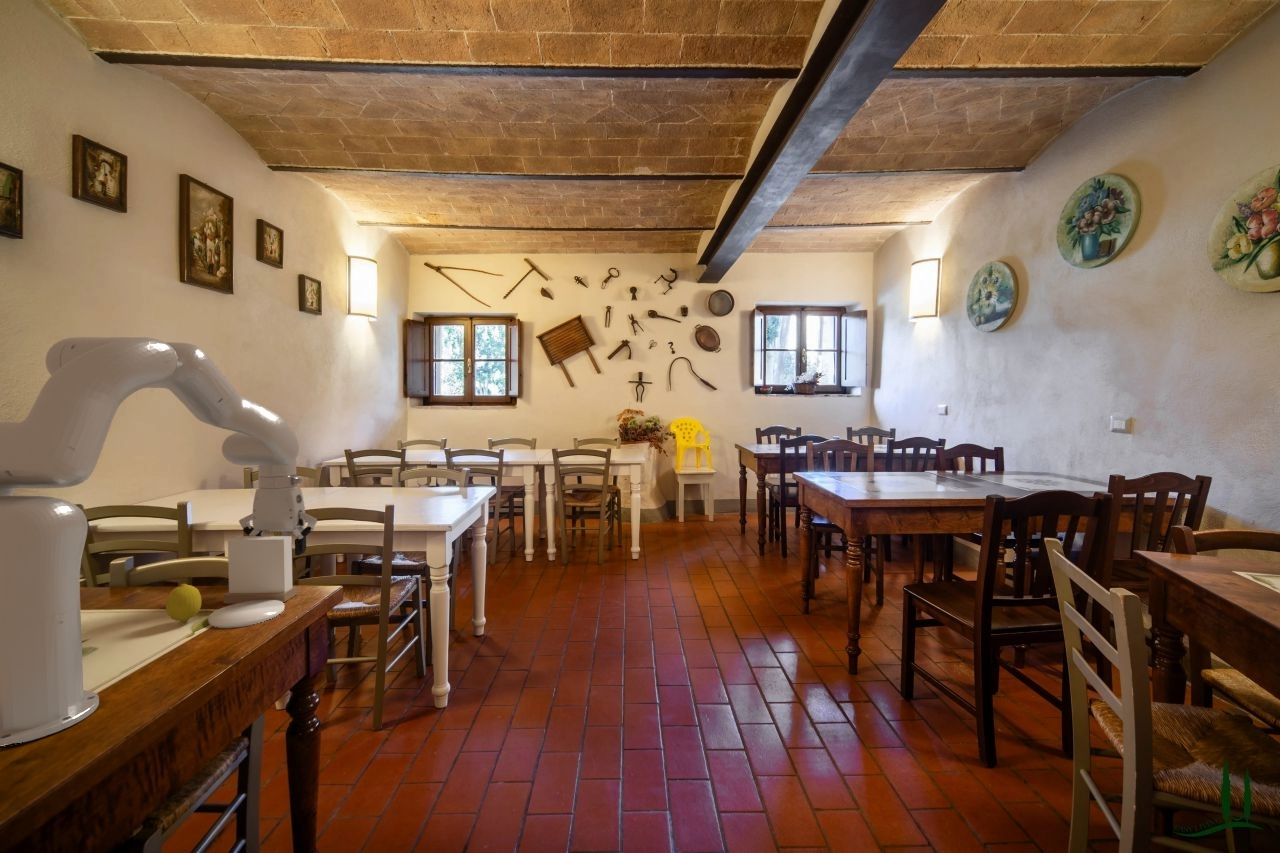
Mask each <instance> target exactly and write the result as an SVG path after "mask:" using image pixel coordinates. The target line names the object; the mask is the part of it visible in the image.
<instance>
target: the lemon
mask: <svg viewBox="0 0 1280 853" xmlns="http://www.w3.org/2000/svg"><path fill="white" fill-rule="evenodd" d="M201 607H202V596H201V593H200V590H199V589H198V588H197V587H195V586H193V585H192V584H191V585H189V584H186V583H181V584H180V585H179V586H177V587H175V588H173V589H172V590H171V592H169V594H168V596H167V598H166V601H165V610H166V613H167V616H168V617H169V618H170V619H171V620H173V621H176V622H177V621H178V622H180V623H182V624H187V622H188V621H189V620H191V619H192V618H194V617H195V616H196V615H198V613H199V611H200V610H201Z"/></svg>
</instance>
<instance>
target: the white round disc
mask: <svg viewBox="0 0 1280 853" xmlns="http://www.w3.org/2000/svg"><path fill="white" fill-rule="evenodd" d="M285 607H286V606H285V603H283V602H282V601H278V600H253V601H246V602H241V603H232V604H228V605H227V606H223V607H221V608H218V609H216V610H214V611H213V612H211V613H210V614H209V615H208V618H207V620H208V623H209V624H210V625H211V626H210V625H209V624H208V623H207V624H208V625H209V626H210V627H212V626H214V627H213V628H216V627H217V629H235V628H242V627H249V626H254V625H258V624H261V623H260V622H262V623H265V622H267V621H266V620H268V621H270V620H269V619H271V620H273V619H275V618H277V617H279V616H280V615H279V614H281V613H282V612H283V611H284V612H285V610H284V609H285ZM284 612H283V613H284ZM283 613H282V614H283ZM282 614H281V615H282ZM278 615H279V616H278ZM276 616H277V617H276ZM274 617H275V618H274ZM272 618H273V619H272ZM264 621H265V622H264ZM257 623H258V624H257ZM253 624H254V625H253Z"/></svg>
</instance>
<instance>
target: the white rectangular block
mask: <svg viewBox="0 0 1280 853" xmlns="http://www.w3.org/2000/svg"><path fill="white" fill-rule="evenodd" d="M292 540H293V539H292V536H291V535H289V536H288V535H287V536H286V535H268V536H267V535H261V536H248V535H244V536H243V535H241V536H239V535H238V536H233V537H231V538H228V539H227V554H228V555H227V557H228V558H227V561H228V562H227V564H228V592H226V593H224V594H223V604H237V603H241V602H246V601H253V600H278V601H282V602H285V601H286V600H288V599H289V598H291V597H293V596H295V595H297V596H298V586H293V552H292V551H293V547H292V546H293V544H292V543H293V542H292ZM295 597H296V596H295ZM285 603H286V602H285Z"/></svg>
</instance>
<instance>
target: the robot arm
mask: <svg viewBox="0 0 1280 853" xmlns="http://www.w3.org/2000/svg"><path fill="white" fill-rule="evenodd" d="M44 362H45V367H46V369H47V371H48V373H49V374H50V377H48V379H47V380H46V381H45V383H44V385H43V386H42V388H41V389H40V391H39V393H38V395H37V397H36V400H35V401H34V403H33V405H32V406H31V408H30V411H29V413H28V415H27V416H26V417H25V418H24V420H22V421H19V422H17V421H16V422H15V421H14V422H10V421H9V422H7V421H4V422H3V421H1V422H0V745H4V744H12V743H20V744H23V743H26V742H32V741H34V740H37V739H41V738H44V737H47V736H49V735H53V734H55V733H57V732H60V731H62V730H65V729H67V728H69V727H71V726H74V725H76V724H77V723H79V722H81V721H83V720H84V719H86V718H88V717H89V716H90V715H92V713H94V712H95V711H96V710H97V708H98V707H99V705H100V696H99V695H98V693H96V692H95V691H94V692H93V691H90V690H84V672H83V671H84V670H83V668H84V666H83V643H82V642H83V640H82V639H83V638H82V616H81V613H82V612H81V592H80V588H81V587H80V576H81V564H82V558H83V553H84V549H85V544H86V541H87V535H88V527H89V526H88V519H87V517H86V515H85V513H84V512H83V510H82V509H81V508H80V507H78V506H77V504H74V503H73V502H71V501H69V500H65V499H63V498H59V497H52V496H46V495H45V496H43V495H42V496H41V495H14V494H15V492H16V490H17V489H37V490H38V489H61V488H62V489H63V488H71V487H76V486H79V485H80V484H83V483H85V481H87V480H88V479H89V478H90V476H92V474H93V472H94V470H95V468H96V466H97V463H98V460H99V459H100V456H101V453H102V451H103V448H104V444H105V441H106V439H107V436H108V433H109V431H110V428H111V425H112V422H113V420H114V418H115V415H116V413H117V410H118V409H119V407H120V406H121V404H122V403H123V402H124V401H125V400H126V399H127V398H128V397H129V396H132V394H134V393H136V392H138V391H139V390H143V389H150V388H151V389H155V388H156V389H166V390H168V391H170V392H171V393H172V394H173V395H174V396H175V397H176V398H177V399H178V400H179V401H180V402H181V403H182V404H183V405H184V406H185V407H186V408H187V410H188V411H189V412H190V413H191V414H192V415H193V416H194V417H195V418H196V419H197V420H198V421H200V422H202V423H204V424H207V425H210V426H213V427H215V428H220V429H223V430H228V431H232V432H234V433H232V434H230V435H228V436H227V437H226V438H225V439H224V441H223V442H222V446H221V452H222V456H223V458H225V460H227V462H229V463H230V464H231V463H232V464H234V465H237V466H238V465H239V466H257V467H258V474H257V475H258V476H257V477H258V479H257V480H258V488H257V489H255V494H254V497H253V503H252V513H251V514H249V515H246V516H244V517H242V518H240V519H239V520H238V523H239V524H240V526H241V528H242V530H243V533H244V534H246V536H262V534H263V533H264V532H291V533H292V534H293V535H295V536H296V538H295V539H294V556H297V557H299V556H300V555H303V554H305V553H306V550H307V537H308V536H309V534H310V533H311V532H312V531H313V530H314V528H315V526H316V524H317V523H318V518H316V517H315V516H312V515H310V514H308V513H306V507H305V501H304V496H303V492H302V489H301V487H300V486H298V484H302V482H303V479H302V478H301V477H298V474H297V457H298V455H299V454H300V445H299V442H298V438H297V436H296V434H295V433H294V431H293V430H292V429H291V427H290V425H289V424H288V423H287V422H286V420H284V418H282V417H281V416H280V415H279V414H278V413H276V412H274V411H273V410H271V409H269V408H267V407H265V406H264V405H261V404H260V403H258V402H257V401H255V400H252V399H250V398H248V397H246V396H243V395H241V394H240V393H239V391H237V389H236V388H235V387H234V385H233V384H232V383H231V382H230V381H229V380H228V378H227V377H226V376H225V374H224V373H223V372H222V371H221V370H220V369H219V367H218V366H217V364H215V362H214V360H212V358H211V357H210V356H209V355H208V353H207V352H206V351H205V350H203V349H202V348H201V347H200V346H197V345H196V344H195V345H194V344H192V343H189V342H188V343H187V342H174V341H172V342H168V341H167V342H165V341H162V340H160V339H157V338H153V337H145V336H143V337H122V336H121V337H119V336H116V337H100V336H99V337H92V336H91V337H90V336H84V337H79V336H77V337H76V336H75V337H67V338H64V339H61V340H59V341H57V342H55V343H54V344H52V346H51V347H50V348H49V349H48V351H47V352H46V355H45V361H44ZM251 521H252V525H251V523H250V522H251ZM306 523H307V525H306ZM304 526H306V527H304ZM22 742H23V743H22Z"/></svg>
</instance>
